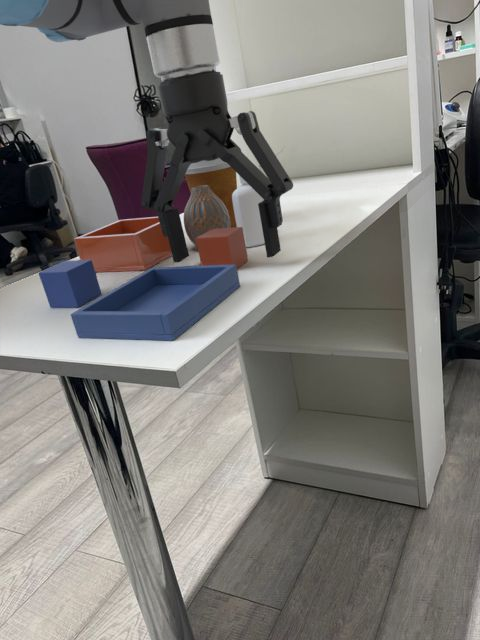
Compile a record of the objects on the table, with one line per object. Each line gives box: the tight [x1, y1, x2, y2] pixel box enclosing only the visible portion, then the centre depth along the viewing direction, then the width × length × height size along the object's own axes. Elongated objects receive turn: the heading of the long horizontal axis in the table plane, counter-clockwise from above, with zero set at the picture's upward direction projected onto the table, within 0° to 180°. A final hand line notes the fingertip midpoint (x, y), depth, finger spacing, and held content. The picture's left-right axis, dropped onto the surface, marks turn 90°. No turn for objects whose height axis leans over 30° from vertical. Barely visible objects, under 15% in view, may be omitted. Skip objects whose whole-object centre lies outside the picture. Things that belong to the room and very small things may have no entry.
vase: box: [183, 185, 231, 247], centre depth 81 cm, size 7×7×9 cm
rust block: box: [196, 227, 249, 269], centre depth 69 cm, size 4×4×4 cm
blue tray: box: [69, 265, 241, 341], centre depth 58 cm, size 12×15×3 cm
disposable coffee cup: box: [184, 158, 238, 228], centre depth 91 cm, size 10×10×12 cm
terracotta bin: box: [73, 216, 172, 273], centre depth 81 cm, size 11×11×5 cm
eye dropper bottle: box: [232, 156, 265, 248], centre depth 77 cm, size 4×6×12 cm
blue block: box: [38, 259, 103, 309], centre depth 66 cm, size 4×4×4 cm
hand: (226, 257), depth 70 cm, fingers open, 13 cm apart
